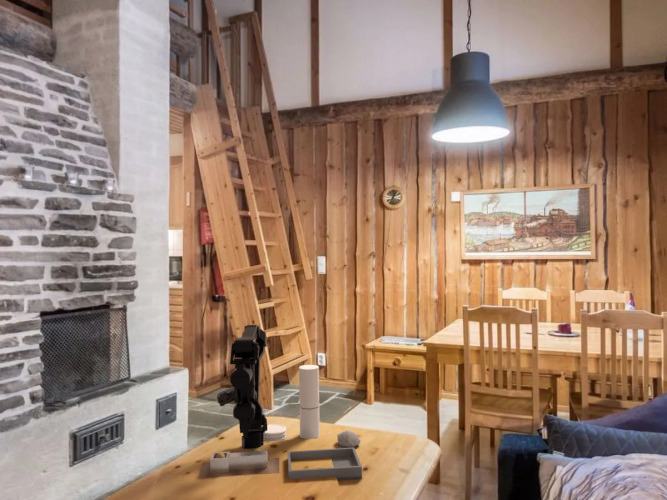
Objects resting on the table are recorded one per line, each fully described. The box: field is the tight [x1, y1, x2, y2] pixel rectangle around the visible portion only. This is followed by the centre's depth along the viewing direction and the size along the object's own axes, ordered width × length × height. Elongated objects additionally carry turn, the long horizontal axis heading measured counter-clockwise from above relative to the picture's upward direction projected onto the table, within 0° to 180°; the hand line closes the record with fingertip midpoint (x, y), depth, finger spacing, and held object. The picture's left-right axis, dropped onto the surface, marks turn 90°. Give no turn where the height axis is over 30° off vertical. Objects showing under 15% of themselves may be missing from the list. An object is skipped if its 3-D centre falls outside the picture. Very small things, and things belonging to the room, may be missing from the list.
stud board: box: [197, 453, 280, 479], centre depth 158 cm, size 24×11×6 cm, turn 97°
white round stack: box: [263, 423, 288, 442], centre depth 186 cm, size 10×10×4 cm
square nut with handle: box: [209, 450, 269, 473], centre depth 158 cm, size 17×5×4 cm, turn 97°
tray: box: [286, 447, 363, 481], centre depth 158 cm, size 22×15×4 cm
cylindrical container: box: [298, 364, 321, 440], centre depth 187 cm, size 7×7×25 cm
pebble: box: [336, 430, 361, 448], centre depth 179 cm, size 9×8×5 cm
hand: (246, 430), depth 158 cm, fingers open, 9 cm apart
